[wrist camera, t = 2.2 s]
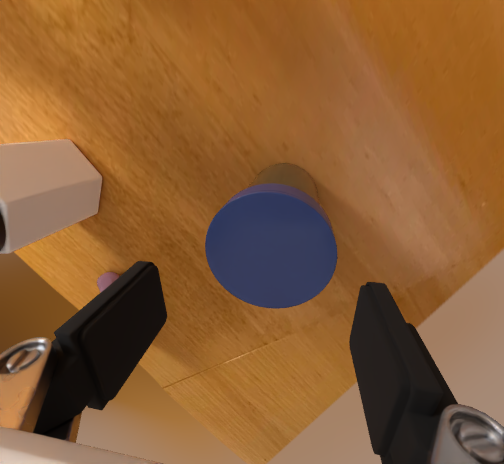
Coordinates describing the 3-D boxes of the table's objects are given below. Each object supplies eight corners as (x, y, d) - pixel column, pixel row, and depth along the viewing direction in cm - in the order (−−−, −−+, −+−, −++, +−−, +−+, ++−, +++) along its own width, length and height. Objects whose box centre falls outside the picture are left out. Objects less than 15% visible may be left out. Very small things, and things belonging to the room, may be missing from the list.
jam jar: (321, 163, 21) (336, 199, 11) (314, 230, 23) (322, 305, 14) (249, 162, 22) (209, 194, 12) (250, 226, 24) (217, 293, 15)
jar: (33, 120, 24) (-185, 120, 13) (107, 157, 24) (-49, 186, 13) (34, 198, 28) (-133, 246, 17) (97, 229, 28) (-29, 296, 17)
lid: (343, 185, 12) (349, 195, 11) (327, 294, 15) (329, 315, 13) (211, 181, 13) (198, 189, 12) (219, 283, 16) (210, 301, 15)
